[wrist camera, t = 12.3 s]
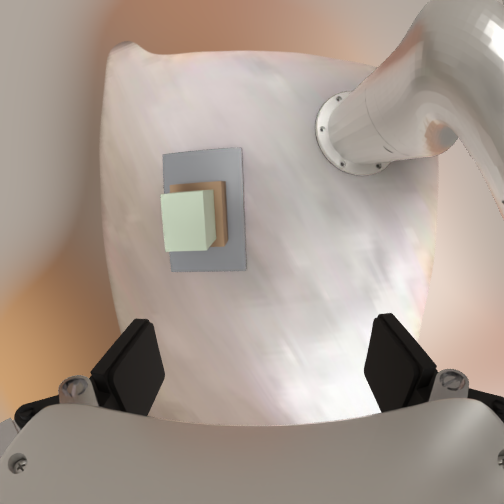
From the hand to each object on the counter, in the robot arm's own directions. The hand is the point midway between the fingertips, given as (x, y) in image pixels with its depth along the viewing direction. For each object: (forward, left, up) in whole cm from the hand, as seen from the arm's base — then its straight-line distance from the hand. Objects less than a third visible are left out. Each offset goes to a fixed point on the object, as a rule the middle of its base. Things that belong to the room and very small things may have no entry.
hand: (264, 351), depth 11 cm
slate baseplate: (+8, -3, -28) cm, 30 cm away
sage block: (+8, -3, -23) cm, 25 cm away
